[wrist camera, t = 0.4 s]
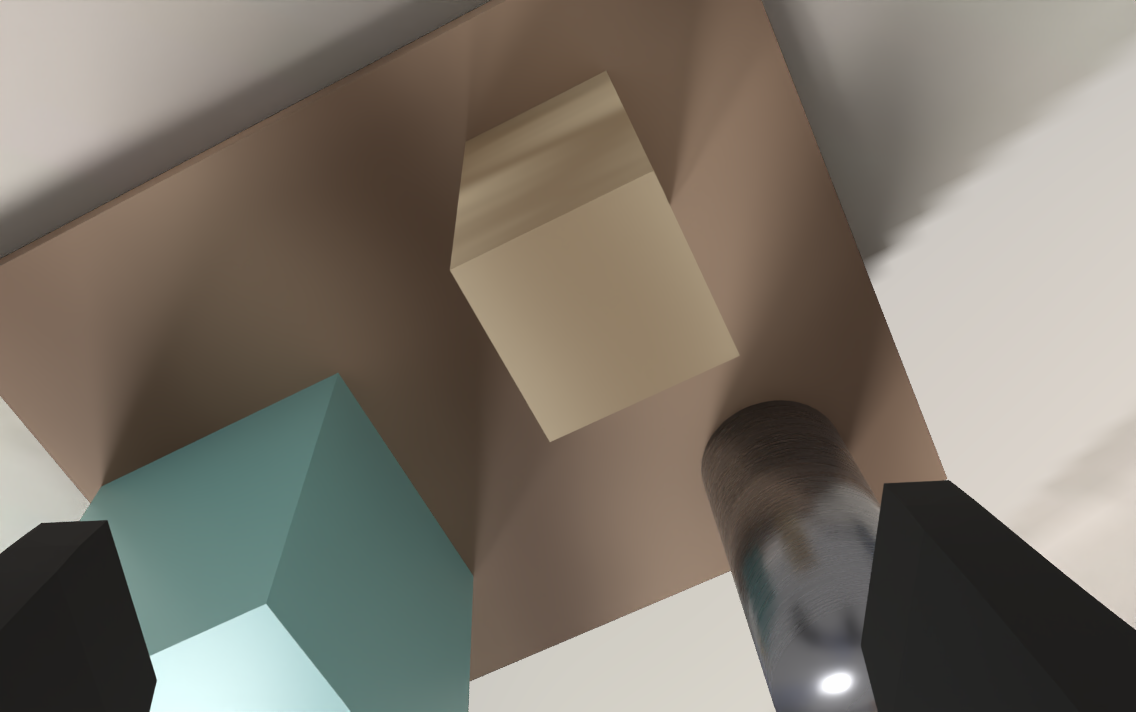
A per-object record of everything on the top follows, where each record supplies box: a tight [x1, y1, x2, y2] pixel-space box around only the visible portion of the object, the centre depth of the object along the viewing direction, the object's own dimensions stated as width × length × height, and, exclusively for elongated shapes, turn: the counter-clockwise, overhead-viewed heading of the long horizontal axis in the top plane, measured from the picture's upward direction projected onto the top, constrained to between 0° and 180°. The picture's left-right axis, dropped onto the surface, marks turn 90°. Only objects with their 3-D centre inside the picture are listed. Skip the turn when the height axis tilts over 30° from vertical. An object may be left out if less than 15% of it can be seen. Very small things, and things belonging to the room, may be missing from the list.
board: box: [0, 0, 947, 681], centre depth 20 cm, size 15×12×1 cm
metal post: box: [701, 400, 880, 712], centre depth 18 cm, size 3×3×6 cm
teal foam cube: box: [80, 373, 473, 712], centre depth 18 cm, size 5×5×7 cm
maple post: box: [450, 71, 740, 442], centre depth 15 cm, size 3×3×6 cm
